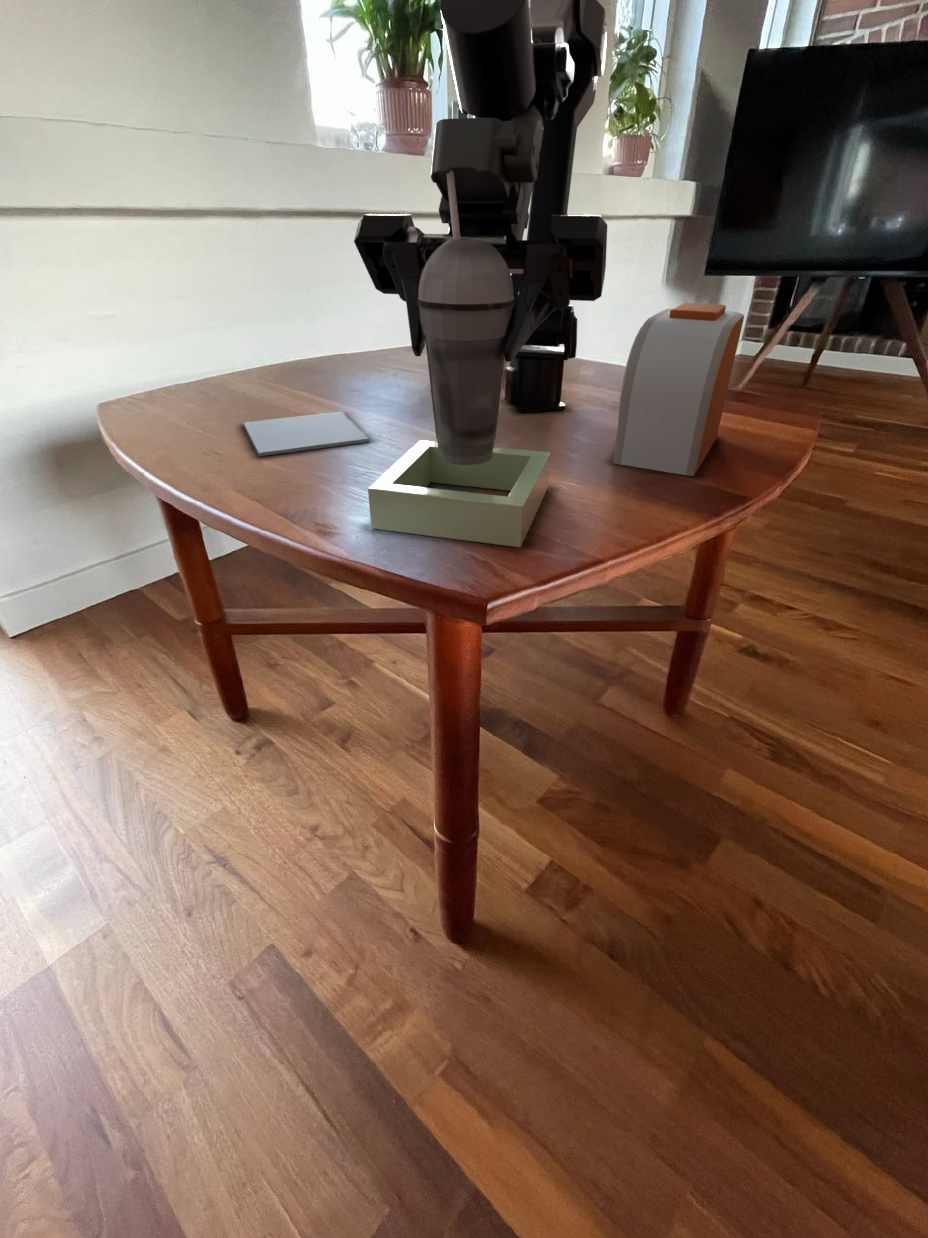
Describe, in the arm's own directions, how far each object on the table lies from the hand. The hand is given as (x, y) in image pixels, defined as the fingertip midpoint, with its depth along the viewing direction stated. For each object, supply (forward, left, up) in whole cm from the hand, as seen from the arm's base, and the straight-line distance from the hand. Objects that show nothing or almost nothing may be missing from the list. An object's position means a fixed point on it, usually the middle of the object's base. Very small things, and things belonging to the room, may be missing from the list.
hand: (460, 355), depth 46 cm
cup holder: (-1, -1, -13) cm, 13 cm away
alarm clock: (-26, -11, -13) cm, 31 cm away
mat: (+12, -26, -13) cm, 32 cm away
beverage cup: (-1, -1, -8) cm, 8 cm away
